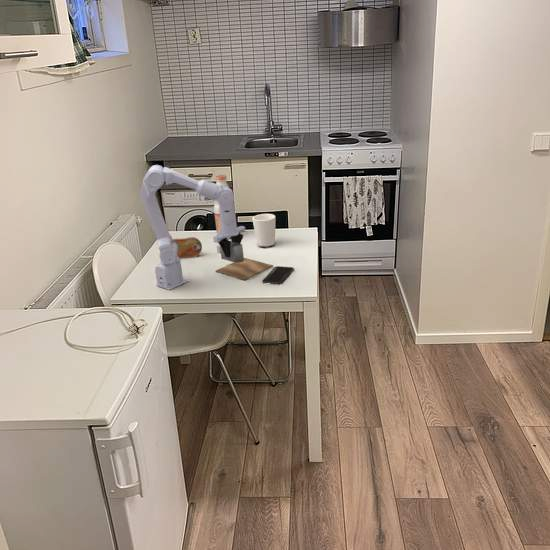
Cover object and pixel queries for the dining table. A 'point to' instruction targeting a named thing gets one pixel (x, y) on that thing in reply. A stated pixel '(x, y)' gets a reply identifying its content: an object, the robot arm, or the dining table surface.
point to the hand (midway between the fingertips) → (232, 255)
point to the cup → (264, 229)
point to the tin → (188, 247)
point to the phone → (278, 275)
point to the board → (244, 269)
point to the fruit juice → (219, 181)
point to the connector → (233, 252)
